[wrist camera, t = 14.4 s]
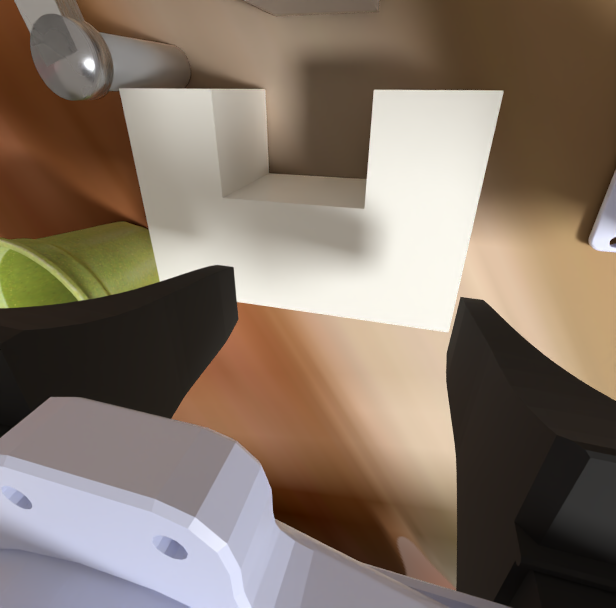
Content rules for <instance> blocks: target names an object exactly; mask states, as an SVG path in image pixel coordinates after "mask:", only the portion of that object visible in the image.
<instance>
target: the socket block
mask: <svg viewBox="0 0 616 608" xmlns="http://www.w3.org/2000/svg"><path fill="white" fill-rule="evenodd" d="M99 33H100V34H101V36H102V37H103V39H104V40H105V42H106V44H107V46H108V48H109V51H110V53H111V57H112V61H113V68H114V76H113V82H112V85H111V88H110V90H109V91H120V96H121V101H122V105H123V110H124V115H125V120H126V124H127V129H128V134H129V138H130V143H131V148H132V153H133V157H134V162H135V167H136V171H137V176H138V181H139V186H140V190H141V195H142V200H143V204H144V209H145V214H146V219H147V223H148V228H149V233H150V237H151V242H152V247H153V252H154V256H155V261H156V266H157V270H158V275H159V280H160V281H164V280H167V279H170V278H173V277H176V276H179V275H182V274H185V273H188V272H191V271H194V270H197V269H201V268H204V267H208V266H212V265H223V266H230V267H234V277H235V288H236V299H237V302H243V303H249V304H256V305H263V306H270V307H277V308H284V309H291V310H298V311H304V312H311V313H318V314H325V315H332V316H339V317H346V318H353V319H359V320H366V321H373V322H380V323H387V324H394V325H401V326H408V327H414V328H421V329H428V330H435V331H442V332H449V328H450V324H451V320H452V315H453V311H454V307H455V302H456V298H457V293H458V289H459V285H460V280H461V276H462V272H463V267H464V263H465V258H466V254H467V250H468V245H469V241H470V237H471V232H472V228H473V223H474V219H475V215H476V210H477V206H478V202H479V197H480V193H481V188H482V184H483V180H484V175H485V171H486V166H487V162H488V158H489V153H490V149H491V145H492V140H493V136H494V131H495V127H496V123H497V118H498V114H499V110H500V105H501V101H502V96H503V92H504V91H502V90H374V95H373V107H372V120H371V132H370V145H369V158H368V170H367V179H357V178H341V177H324V176H307V175H290V174H274V173H269V159H268V136H267V114H266V92H265V89H183V88H185V87H186V85H187V84H188V82H189V80H190V74H191V70H190V64H189V61H188V58H187V56H186V55H185V53H184V52H183V51H182V50H181V49H180V48H178V47H177V46H174V45H170V44H164V43H159V42H153V41H147V40H141V39H136V38H130V37H124V36H119V35H113V34H107V33H101V32H99Z"/></svg>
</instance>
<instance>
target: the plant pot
mask: <svg viewBox="0 0 616 608" xmlns="http://www.w3.org/2000/svg"><path fill="white" fill-rule="evenodd" d="M157 282H160V280H159V275H158V270H157V266H156V261H155V256H154V252H153V247H152V242H151V237H150V233H149V230H148V229H146V228H143V227H140V226H136V225H133V224H130V223H127V222H123V221H122V222H115V223H110V224H104V225H100V226H95V227H91V228H87V229H82V230H77V231H72V232H68V233H63V234H58V235H53V236H48V237H44V238H39V239H27V238H21V239H11V240H10V239H6V238H1V237H0V308H19V307H32V306H43V305H53V304H62V303H68V302H75V301H81V300H88V299H94V298H99V297H104V296H109V295H113V294H118V293H122V292H126V291H130V290H134V289H137V288H140V287H144V286H147V285H150V284H154V283H157Z"/></svg>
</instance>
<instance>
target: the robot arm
mask: <svg viewBox="0 0 616 608" xmlns="http://www.w3.org/2000/svg"><path fill="white" fill-rule="evenodd" d="M614 237H616V170H615V172H614V175H613V177H612V180H611V183H610V185H609V188H608V190H607V193H606V195H605V198H604V200H603V203H602V206H601V208H600V211H599V213H598V216H597V218H596V221H595V223H594V226H593V228H592V231H591V234H590V236H589V241H588V242H589V244H590V246H591V247H592V248H594V249H595V250H598V251H606V252H616V244H612V245H610V241H611V239H612V238H614ZM237 321H238V310H237V299H236V288H235V277H234V267H230V266H223V265H212V266H208V267H204V268H201V269H197V270H194V271H191V272H188V273H185V274H182V275H179V276H176V277H173V278H170V279H167V280H164V281H160V282H157V283H154V284H150V285H147V286H144V287H140V288H137V289H134V290H130V291H126V292H122V293H118V294H113V295H109V296H104V297H99V298H94V299H88V300H81V301H75V302H68V303H62V304H53V305H43V306H32V307H19V308H0V608H616V401H615V400H613V399H611V398H609V397H608V396H606V395H604V394H602V393H601V392H599V391H597V390H595V389H594V388H592V387H590V386H589V385H587V384H585V383H584V382H582V381H581V380H579V379H578V378H576V377H575V376H573V375H572V374H570V373H569V372H567V371H566V370H564V369H563V368H561V367H560V366H558V365H557V364H556V363H554V362H553V361H552V360H550V359H549V358H547V357H546V356H545V355H544V354H542V353H541V352H540V351H539V350H538V349H536V348H535V347H534V346H533V345H531V344H530V343H529V342H528V341H527V340H526V339H524V338H523V337H522V336H521V335H520V334H519V333H518V332H517V331H515V330H514V329H513V328H512V327H511V326H510V325H509V324H508V323H507V322H506V321H505V320H504V319H503V318H502V317H501V316H500V315H499V314H498V313H497V312H496V311H495V310H494V309H493V308H492V307H491V306H489V305H488V304H487V303H486V302H485V301H484V300H479V299H471V298H464V297H461V298H460V302H459V306H458V310H457V314H456V318H455V322H454V326H453V330H452V334H451V338H450V342H449V346H448V350H447V364H446V382H447V390H448V398H449V405H450V413H451V420H452V427H453V434H454V441H455V451H456V469H457V588H456V591H455V590H451V589H448V588H444V587H441V586H438V585H434V584H431V583H428V582H425V581H421V580H418V579H415V578H411V577H408V576H405V575H401V574H398V573H395V572H391V571H388V570H384V569H381V568H378V567H374V566H371V565H368V564H364V563H361V562H359V561H357V560H355V559H353V558H351V557H349V556H347V555H345V554H343V553H341V552H339V551H337V550H335V549H333V548H331V547H329V546H327V545H325V544H323V543H321V542H319V541H317V540H315V539H313V538H311V537H309V536H307V535H306V534H304V533H302V532H300V531H298V530H296V529H294V528H292V527H290V526H288V525H286V524H284V523H282V522H280V521H278V520H276V519H274V515H273V507H272V490H271V487H270V485H269V483H268V480H267V478H266V475H265V473H264V471H263V468H262V466H261V464H260V462H259V461H258V460H257V459H256V458H255V457H254V456H253V455H252V454H251V453H250V452H248V451H247V450H246V449H245V448H244V447H243V446H242V445H241V444H240V443H238V442H237V441H236V440H234V439H232V438H230V437H227V436H225V435H223V434H220V433H218V432H216V431H214V430H211V429H209V428H207V427H202V426H198V425H194V424H190V423H186V422H182V421H177V420H173V419H171V418H172V416H173V415H174V413H175V411H176V410H177V408H178V406H179V405H180V403H181V401H182V400H183V398H184V397H185V395H186V394H187V392H188V391H189V390H190V388H191V387H192V386H193V384H194V383H195V382H196V380H197V379H198V378H199V377H200V375H201V374H202V373H203V371H204V370H205V369H206V368H207V366H208V365H209V364H210V362H211V361H212V360H213V359H214V357H215V356H216V355H217V353H218V352H219V351H220V349H221V348H222V347H223V345H224V344H225V343H226V341H227V339H228V338H229V336H230V334H231V332H232V330H233V329H234V327H235V325H236V323H237Z"/></svg>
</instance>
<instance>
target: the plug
mask: <svg viewBox="0 0 616 608" xmlns="http://www.w3.org/2000/svg"><path fill="white" fill-rule="evenodd" d="M243 1H245V2H247V3H249V4H251V5H253V6H255V7H258V8H260V9H262V10H264V11H266V12H268V13H270V14H272V15H274V16H288V15H312V14H336V13H361V12H379V0H243Z"/></svg>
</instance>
